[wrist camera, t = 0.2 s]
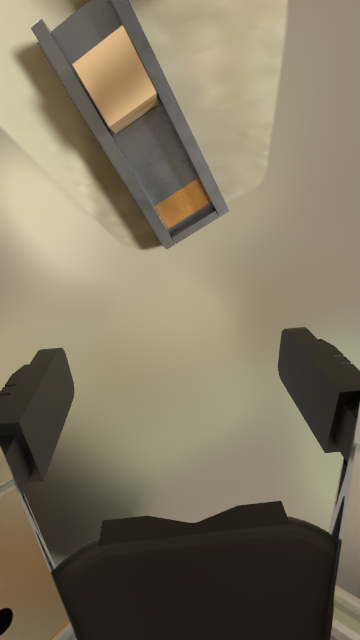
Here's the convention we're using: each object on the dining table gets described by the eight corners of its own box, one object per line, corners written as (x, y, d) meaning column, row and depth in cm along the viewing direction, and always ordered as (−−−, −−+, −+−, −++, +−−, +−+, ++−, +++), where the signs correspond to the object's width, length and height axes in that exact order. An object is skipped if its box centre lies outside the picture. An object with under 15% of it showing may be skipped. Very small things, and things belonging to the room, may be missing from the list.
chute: (41, 47, 28) (27, 31, 25) (118, -16, 27) (113, -42, 24) (162, 244, 37) (163, 251, 34) (225, 206, 36) (232, 209, 33)
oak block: (85, 81, 29) (72, 64, 24) (127, 48, 28) (122, 24, 23) (115, 134, 31) (109, 127, 26) (156, 105, 30) (156, 92, 25)
